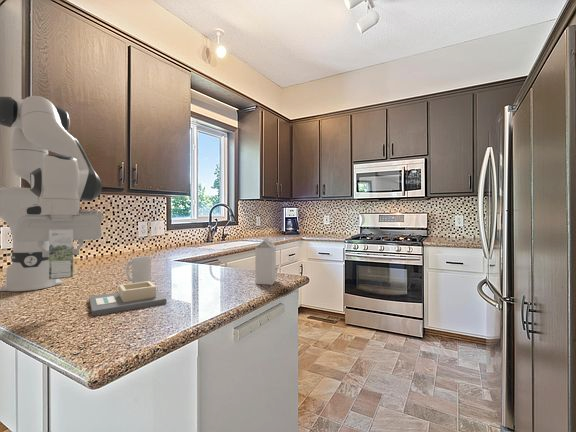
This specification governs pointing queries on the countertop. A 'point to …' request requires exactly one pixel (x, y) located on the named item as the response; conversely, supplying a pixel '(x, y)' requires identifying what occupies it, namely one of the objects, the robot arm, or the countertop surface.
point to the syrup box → (60, 253)
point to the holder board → (127, 298)
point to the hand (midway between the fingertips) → (61, 255)
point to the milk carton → (265, 262)
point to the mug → (139, 269)
